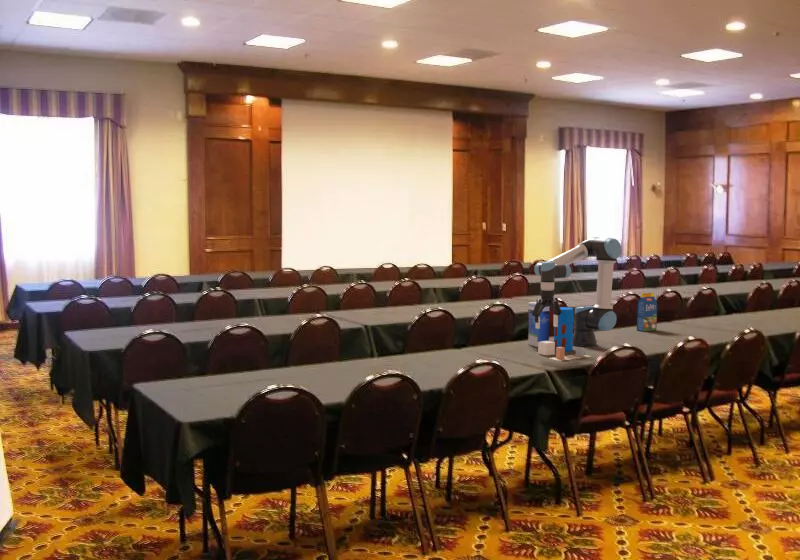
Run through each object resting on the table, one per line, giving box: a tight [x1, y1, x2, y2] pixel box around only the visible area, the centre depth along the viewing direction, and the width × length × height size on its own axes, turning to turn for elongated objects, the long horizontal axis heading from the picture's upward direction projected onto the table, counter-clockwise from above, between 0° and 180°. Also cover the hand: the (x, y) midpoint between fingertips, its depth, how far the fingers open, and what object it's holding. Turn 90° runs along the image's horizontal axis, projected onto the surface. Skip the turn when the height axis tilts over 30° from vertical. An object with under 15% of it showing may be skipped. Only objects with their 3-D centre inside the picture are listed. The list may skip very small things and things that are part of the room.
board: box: [548, 353, 591, 362], centre depth 471 cm, size 24×9×1 cm, turn 124°
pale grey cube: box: [575, 347, 585, 357], centre depth 474 cm, size 3×3×4 cm
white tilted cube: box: [537, 340, 556, 356], centre depth 480 cm, size 6×6×8 cm
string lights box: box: [527, 301, 550, 348], centre depth 511 cm, size 13×8×26 cm, turn 20°
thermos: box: [553, 306, 575, 353], centre depth 492 cm, size 11×11×25 cm
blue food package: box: [636, 292, 658, 332], centre depth 569 cm, size 6×12×25 cm, turn 120°
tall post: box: [555, 347, 566, 359], centre depth 467 cm, size 3×3×6 cm
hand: (546, 327), depth 479 cm, fingers open, 13 cm apart
